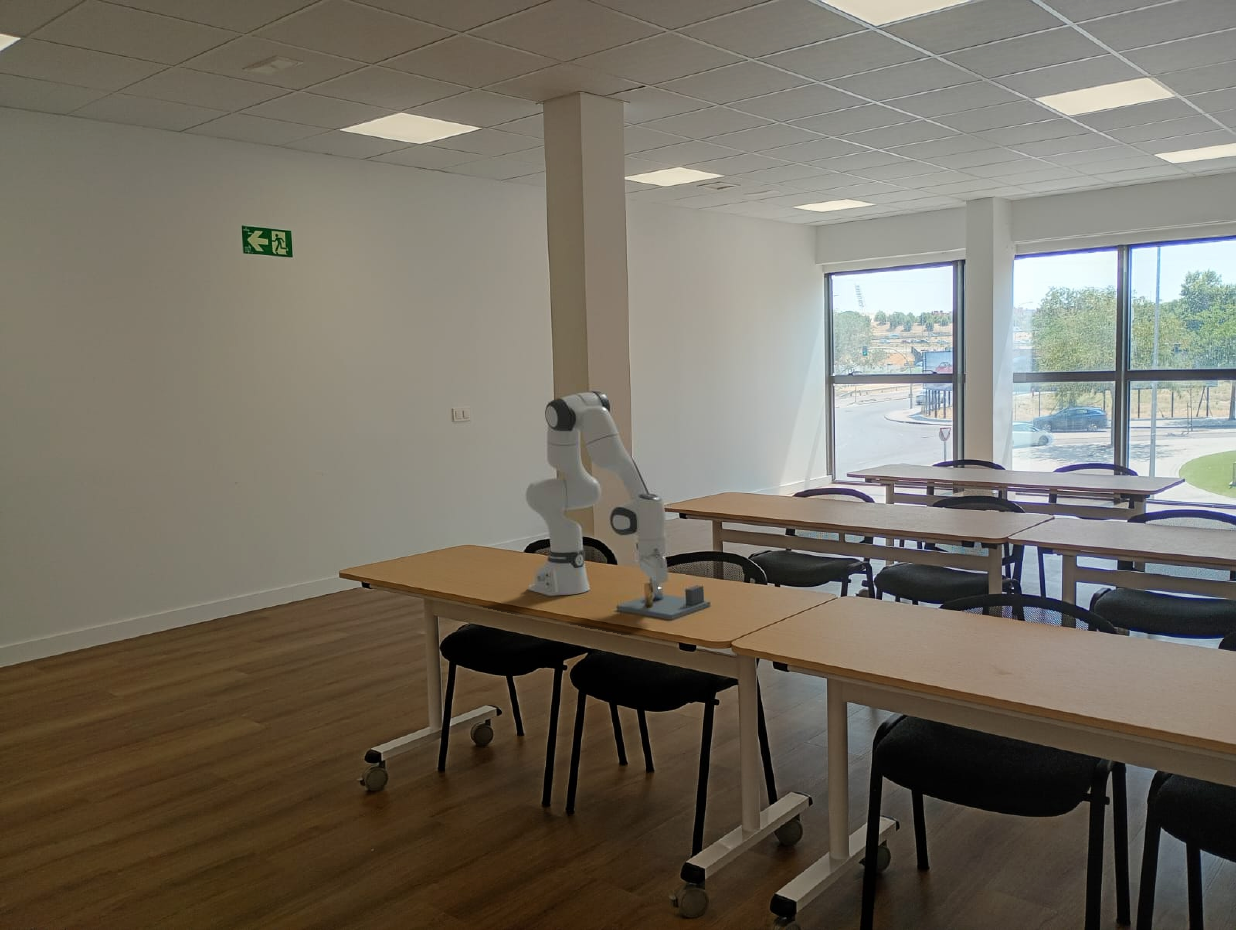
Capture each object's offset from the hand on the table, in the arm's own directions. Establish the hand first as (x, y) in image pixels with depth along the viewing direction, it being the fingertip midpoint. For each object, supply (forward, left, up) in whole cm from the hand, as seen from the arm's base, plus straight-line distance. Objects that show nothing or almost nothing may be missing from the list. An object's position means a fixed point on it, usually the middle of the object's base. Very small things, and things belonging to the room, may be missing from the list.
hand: (654, 591), depth 293 cm
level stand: (0, +4, -6) cm, 7 cm away
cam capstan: (-4, +3, -4) cm, 7 cm away
